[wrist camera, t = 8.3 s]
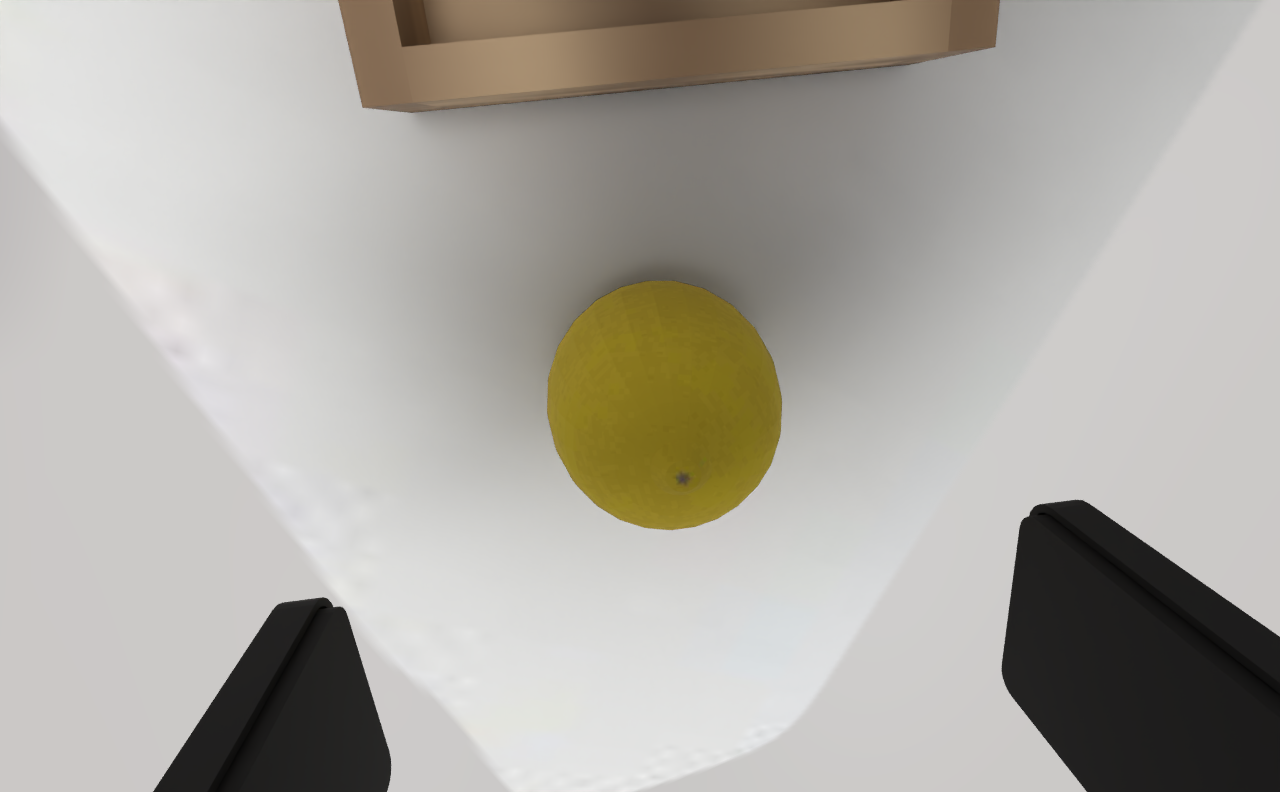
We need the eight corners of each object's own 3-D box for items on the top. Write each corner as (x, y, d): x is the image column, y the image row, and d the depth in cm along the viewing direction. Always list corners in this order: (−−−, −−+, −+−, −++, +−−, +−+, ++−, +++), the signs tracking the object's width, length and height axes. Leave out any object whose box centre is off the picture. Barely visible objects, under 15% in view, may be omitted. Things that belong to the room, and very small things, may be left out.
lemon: (519, 313, 19) (476, 428, 12) (690, 219, 19) (759, 279, 11) (611, 461, 21) (623, 639, 14) (768, 381, 21) (870, 523, 13)
